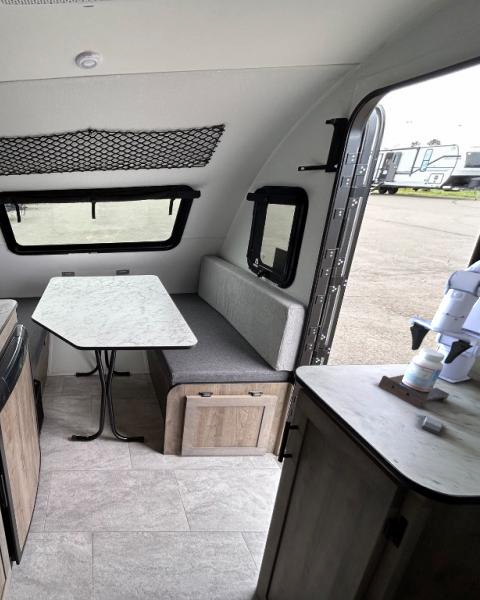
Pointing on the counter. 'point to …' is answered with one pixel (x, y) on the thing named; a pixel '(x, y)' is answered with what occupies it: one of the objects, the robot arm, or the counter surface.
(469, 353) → the robot arm
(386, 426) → the counter surface
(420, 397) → the brown slab
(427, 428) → the grey faceted block
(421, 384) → the pill bottle
